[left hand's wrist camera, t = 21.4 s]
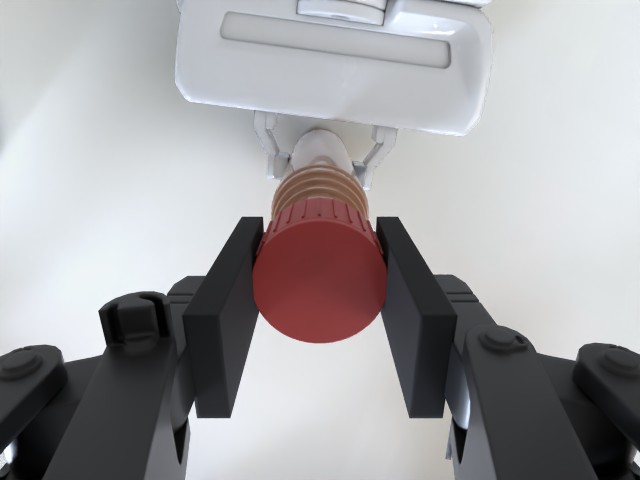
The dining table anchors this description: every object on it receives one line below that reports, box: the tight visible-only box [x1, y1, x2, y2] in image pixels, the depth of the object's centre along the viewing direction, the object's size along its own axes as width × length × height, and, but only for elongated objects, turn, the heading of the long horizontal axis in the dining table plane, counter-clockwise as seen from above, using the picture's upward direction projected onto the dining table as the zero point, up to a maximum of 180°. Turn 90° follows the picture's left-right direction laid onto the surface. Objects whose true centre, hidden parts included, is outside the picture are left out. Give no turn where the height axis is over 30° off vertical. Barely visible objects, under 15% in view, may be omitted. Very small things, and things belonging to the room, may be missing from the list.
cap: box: [252, 197, 387, 343], centre depth 13 cm, size 4×4×3 cm
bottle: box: [271, 129, 369, 221], centre depth 24 cm, size 5×5×24 cm
